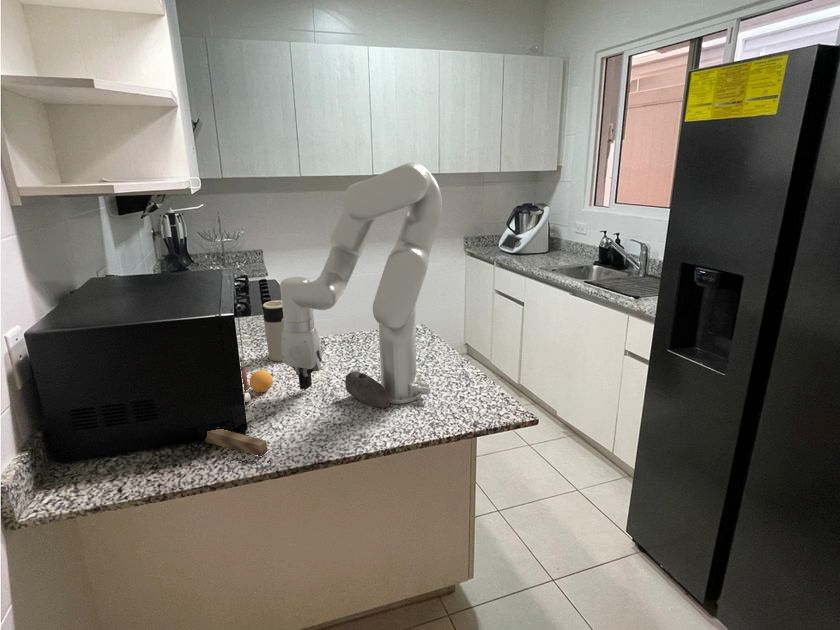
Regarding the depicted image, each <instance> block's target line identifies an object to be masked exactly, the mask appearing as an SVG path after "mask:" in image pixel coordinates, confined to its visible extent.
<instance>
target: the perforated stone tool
mask: <svg viewBox="0 0 840 630" xmlns="http://www.w3.org/2000/svg"><path fill="white" fill-rule="evenodd" d="M344 384H345V390H346V392H347V393H348V394H349V395H350V396H352V397H353V398H355V399H357V400H358V401H360V402H362V403H365V404H367V405H370V406H373V407H377V408H381V409H382V408H384V409H385V408H387V407H389V406H390V404H391V403H390V397H389V394H388V393H387V391H386V390H385V388H384V387H383V386H382V385H381V382H378V381H377V380H375V379H374V378H373V377H371V376H369V375H368V374H365V373H363V372H360V371H358V370H354V371H350V372H349V373H348V374H346V375H345V382H344Z"/></svg>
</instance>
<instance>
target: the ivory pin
mask: <svg viewBox="0 0 840 630" xmlns="http://www.w3.org/2000/svg"><path fill="white" fill-rule="evenodd" d="M243 394H245V401H246V403H249V402H251V401H252V398H251V395H250V393H249V392H247V391H246V392H243Z"/></svg>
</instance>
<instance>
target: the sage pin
mask: <svg viewBox="0 0 840 630" xmlns="http://www.w3.org/2000/svg"><path fill="white" fill-rule="evenodd" d="M245 412H246V416H247V423H249V422H251V421H253V419H254V415H253V412H251V411H250V410H247V411H245Z"/></svg>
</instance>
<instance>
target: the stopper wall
mask: <svg viewBox="0 0 840 630" xmlns="http://www.w3.org/2000/svg"><path fill="white" fill-rule="evenodd" d="M205 441H206V442H205ZM205 441H204V442H205V443H210V444H213V445H217V446H220V447H223V448H226V449H230V450H233V449H234V451H237V452H240V451H241V452H240V453H244V452H245V453H244V454H247V453H250V454H249V455H251V454H254V455H258V456H262V455H264V454H265V453H266V452H267V451H268V444H267V440H264V439H260V438H257V437H253V436H249V435H245V434H242V433H237V432H234V431H232V432H231V431H228V430H224V429H216V430H211V431H207V437H206V439H205ZM268 452H269V451H268ZM254 455H253V456H254ZM264 456H265V455H264Z"/></svg>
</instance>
